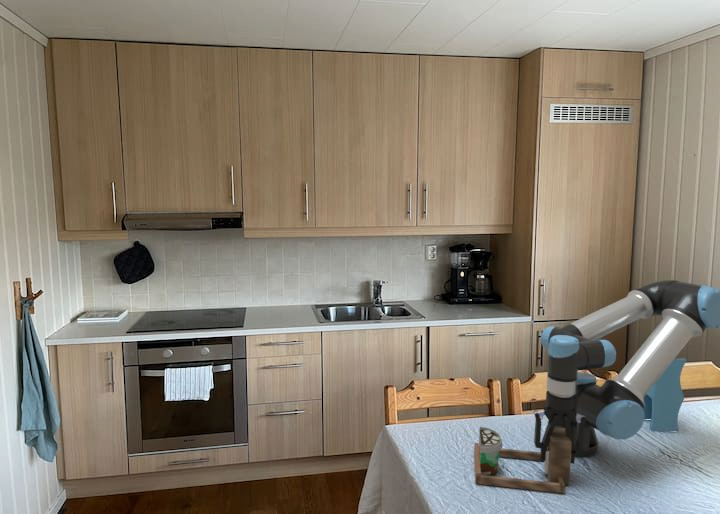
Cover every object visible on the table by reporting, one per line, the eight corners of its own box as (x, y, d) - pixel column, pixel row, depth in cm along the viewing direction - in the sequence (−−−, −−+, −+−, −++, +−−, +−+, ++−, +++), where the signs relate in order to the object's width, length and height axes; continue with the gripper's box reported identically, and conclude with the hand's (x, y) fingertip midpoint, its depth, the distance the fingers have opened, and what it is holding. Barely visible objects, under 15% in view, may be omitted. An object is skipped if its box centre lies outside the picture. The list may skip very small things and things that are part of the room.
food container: (503, 482, 140) (504, 448, 138) (480, 480, 141) (481, 445, 140) (499, 459, 152) (501, 427, 150) (478, 457, 153) (479, 425, 152)
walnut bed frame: (559, 460, 151) (562, 421, 149) (572, 494, 134) (575, 450, 132) (474, 452, 155) (475, 414, 154) (475, 483, 139) (477, 441, 137)
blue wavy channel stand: (680, 432, 170) (687, 359, 167) (651, 431, 170) (656, 359, 167) (663, 419, 180) (669, 350, 177) (635, 418, 180) (640, 350, 177)
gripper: (592, 389, 142) (587, 468, 145) (524, 384, 145) (521, 462, 148) (599, 400, 134) (594, 483, 137) (528, 394, 138) (524, 476, 141)
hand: (556, 472), depth 143 cm, fingers closed on walnut bed frame, 5 cm apart
